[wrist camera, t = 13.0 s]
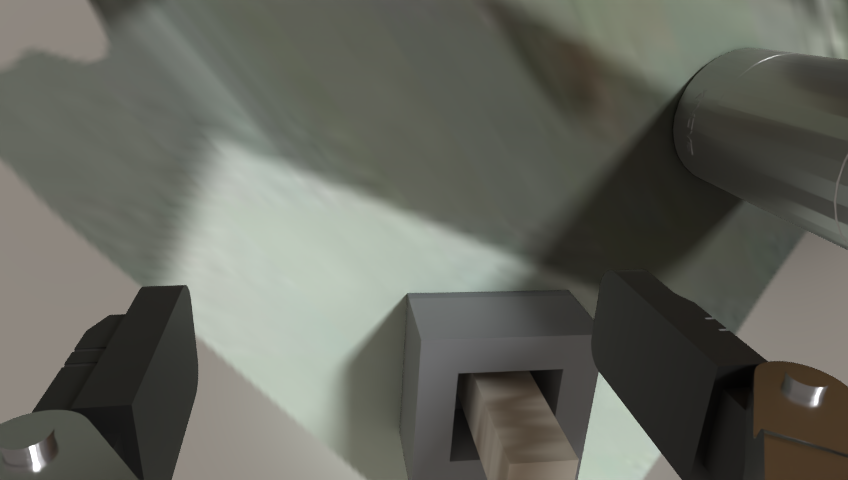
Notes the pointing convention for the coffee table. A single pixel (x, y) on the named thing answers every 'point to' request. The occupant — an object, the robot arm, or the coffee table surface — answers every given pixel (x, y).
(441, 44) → the coffee table surface
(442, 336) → the well block
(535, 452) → the wooden peg
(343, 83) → the coffee table surface
